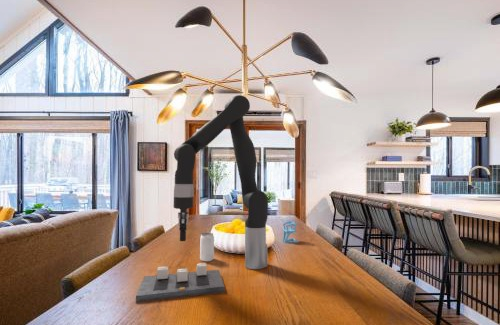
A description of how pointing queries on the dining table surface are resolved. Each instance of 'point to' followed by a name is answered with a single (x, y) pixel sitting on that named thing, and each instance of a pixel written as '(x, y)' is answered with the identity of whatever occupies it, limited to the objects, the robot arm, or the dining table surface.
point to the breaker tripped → (182, 275)
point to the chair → (289, 232)
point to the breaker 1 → (162, 272)
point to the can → (206, 247)
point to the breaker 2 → (201, 269)
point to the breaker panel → (179, 286)
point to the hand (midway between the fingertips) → (182, 240)
